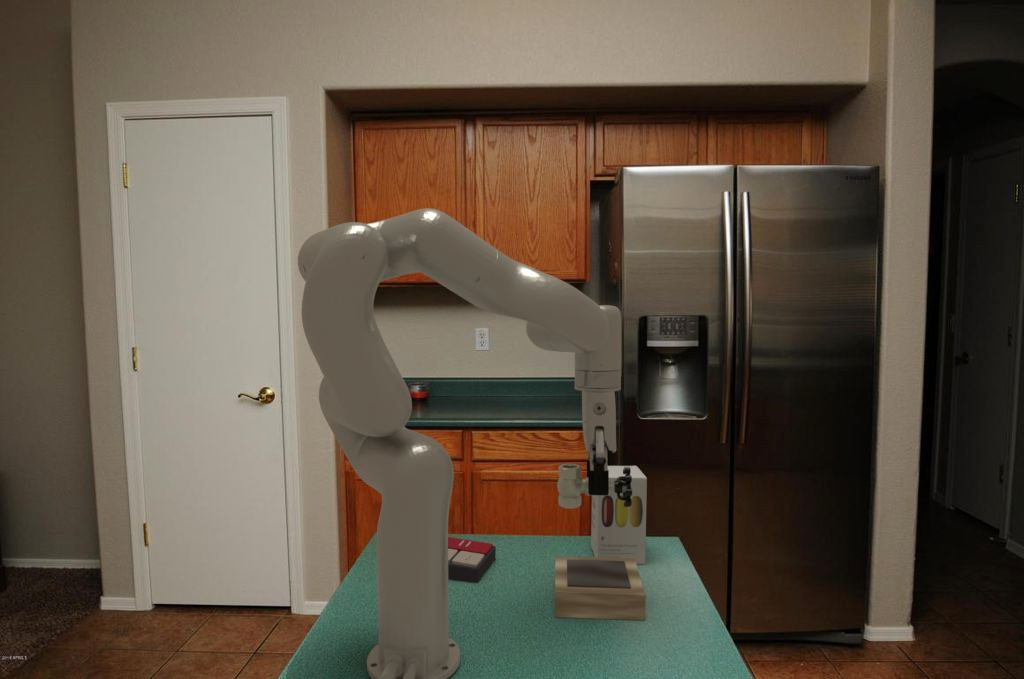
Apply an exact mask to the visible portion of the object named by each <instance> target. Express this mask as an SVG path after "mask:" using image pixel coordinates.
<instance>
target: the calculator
mask: <svg viewBox="0 0 1024 679" xmlns="http://www.w3.org/2000/svg"><path fill="white" fill-rule="evenodd" d="M496 550H497V547H496V546H495V545H494V544H493V543H490V542H483V541H477V540H471V539H464V538H459V537H451V536H448V581H456V582H464V583H471V584H478V583H479V582H480V581H481V579H482V578H483V577H484V575H485V574H486V573H487V572H488V570H489V569H490V567H492V565H493V563H494V562H495V561H496V555H497V554H496Z"/></svg>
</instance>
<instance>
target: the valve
mask: <svg viewBox="0 0 1024 679" xmlns="http://www.w3.org/2000/svg"><path fill="white" fill-rule="evenodd" d="M557 473H558V477H559V478H558V480H557V484H556V488H557V492H558V494H559V495H558V499H557V500H558V501H557V502H558V505H559V506H560V508H564V509H569V510H570V509H572V510H573V509H577V508H579V507H581V506H582V495H581V494H585V496H591V497H592V495H589V493H588V477H587V476H586V477H585V478H581V477H582V466H580V465H579V464H577V463H564V464H563V463H562V464H560V465H558V472H557ZM630 473H631V469H630V467H624V469H623V474H625V476H620V477H618V478H617V480H616V481H614V484H609V490H614V493H617V497H618V498H619V499H620V500H622V501H625V502H624V507H630V506H631V505H632V500H631V496H632V489H631V482H632V476H631V475H630ZM621 480H622V481H621ZM620 493H623V497H622V496H620Z"/></svg>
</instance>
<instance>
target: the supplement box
mask: <svg viewBox="0 0 1024 679" xmlns="http://www.w3.org/2000/svg"><path fill="white" fill-rule="evenodd" d="M624 467H630V469H631V473H630V475H631V476H632V482H631V489H632V496H631V500H632V505H631V506H630V507H624V502H625V501H622V500H620V499H619V498H618V497H617V493H614V490H609V494H608V495H592V496H591V524H590V525H591V526H590V528H591V530H590V534H591V535H590V548H591V550H592V552H593V557H606V558H635V561H636V565H646V547H647V545H646V541H647V540H646V539H647V498H648V497H647V495H648V494H647V492H648V491H647V490H648V489H647V488H648V483H647V482H648V481H647V480H648V477H647V476H646V475H645V474H644V473H643V471H642V470H641V469H640V468H639V467H638V466H637V465H608V470H609V484H614V481H616V480H617V478H618V477H620V476H625V474H623V469H624ZM621 481H622V480H621ZM620 496H622V497H623V493H620Z"/></svg>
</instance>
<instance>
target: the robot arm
mask: <svg viewBox="0 0 1024 679" xmlns="http://www.w3.org/2000/svg"><path fill="white" fill-rule="evenodd" d="M297 266H298V271H299V274H300V276H301V278H302V279H303V281H305V283H304V288H303V293H302V294H303V295H302V301H301V324H302V328H303V332H304V335H305V338H306V341H307V344H308V346H309V348H310V350H311V352H312V355H313V357H314V359H315V361H316V363H317V365H318V367H319V370H320V372H321V374H322V376H323V378H322V379H321V382H320V385H319V390H318V402H319V406H320V410H321V412H322V415H323V417H324V419H325V421H326V422H327V424H328V426H329V428H330V430H331V432H332V434H333V435H334V438H335V439H336V440H337V442H338V444H339V447H340V448H341V450H342V451H343V453H344V456H345V457H346V459H347V460H348V463H350V465H351V467H352V469H353V470H354V471H355V473H356V474H357V476H358V477H359V478H360V479H361V481H363V482H364V484H366V485H368V486H369V487H371V488H372V489H374V490H375V491H377V492H378V493H379V494H380V495H381V506H380V507H381V508H380V513H379V516H378V521H377V527H376V561H377V562H376V563H377V564H376V565H377V566H376V569H377V570H376V572H377V578H376V579H377V628H378V629H377V633H378V634H377V635H378V636H377V638H378V640H377V641H378V644H376V645H375V646H374V647H373V648H372V649H371V650H370V652H369V653H368V655H367V659H366V671H367V674H368V676H369V677H370V678H371V679H449V678H450V677H451V676H452V675H453V674H454V673H455V672H456V671H457V670H458V669H459V666H460V664H461V650H460V647H459V645H458V643H457V642H456V641H455V640H454V639H452V638H451V637H450V621H449V620H450V613H449V610H450V607H449V605H450V604H449V602H450V601H449V598H450V597H449V580H448V537H449V514H450V504H451V497H452V493H453V488H454V481H455V480H454V478H455V477H454V476H455V472H454V465H453V461H452V459H451V457H450V455H449V452H448V451H447V450H446V449H445V447H444V446H443V445H442V444H441V443H439V441H437V440H436V439H434V438H432V437H431V436H428V435H426V434H424V433H420V432H418V431H415V430H412V429H409V428H407V427H406V425H407V423H408V422H409V420H410V417H411V415H412V410H413V401H412V396H411V393H410V390H409V387H408V385H407V384H406V381H405V379H404V378H403V375H402V374H401V372H400V370H399V368H398V366H397V364H396V362H395V360H394V359H393V357H392V354H391V353H390V350H389V348H388V346H387V345H386V343H385V341H384V339H383V336H382V334H381V332H380V329H379V326H378V325H377V321H376V319H375V318H376V317H375V312H374V311H375V310H374V304H375V303H374V302H375V297H376V292H377V289H378V286H379V285H380V283H381V282H383V281H387V280H392V279H394V278H399V277H402V276H405V275H411V274H419V273H421V274H422V275H424V276H426V277H428V278H430V279H431V280H433V281H435V282H436V283H438V284H439V285H441V286H443V287H445V288H446V289H448V290H449V291H450V292H452V293H454V294H456V295H457V296H458V297H461V298H462V299H463V300H465V301H466V302H468V303H469V304H472V305H473V306H475V307H476V308H478V309H481V310H484V311H486V312H490V313H492V314H495V315H499V316H502V317H503V316H505V317H510V318H513V319H518V320H522V321H525V322H526V323H525V324H526V325H525V329H526V330H525V331H526V335H527V337H528V339H529V340H530V342H531V343H532V344H533V345H534V346H535V347H536V348H537V347H538V348H539V349H541V350H543V351H549V352H558V353H574V390H577V391H581V410H582V411H581V413H582V415H581V416H582V417H581V418H582V435H583V442H584V445H585V446H584V448H585V450H586V451H587V459H586V477H588V493H589V495H588V496H590V495H608V494H609V470H608V466H609V465H608V451H609V452H610V451H611V453H612V454H615V453H616V451H617V418H616V417H617V416H616V415H617V414H616V412H617V411H616V407H617V406H616V396H615V392H619V391H621V390H622V387H621V386H622V382H621V381H622V379H621V378H622V370H621V369H622V314H621V310H620V309H619V307H617V306H615V305H609V304H608V305H607V304H606V305H605V304H601V305H599V304H598V303H596V302H595V301H594V300H593V299H592V298H590V297H589V296H588V295H586V294H584V293H583V292H582V291H580V290H579V289H578V288H577V287H574V286H573V285H571V284H570V283H568V282H566V281H564V280H561V279H560V278H557V277H556V276H553V275H551V274H549V273H545V272H543V271H541V270H539V269H536V268H534V267H532V266H530V265H527V264H524V263H523V262H519V261H517V260H515V259H513V258H510V257H509V256H507V254H505V253H503V252H501V250H499V249H497V248H496V247H494V246H493V245H491V244H490V243H489V242H487V241H486V240H484V239H483V238H482V237H480V236H479V235H478V234H476V233H474V232H473V231H471V230H470V229H469V228H467V227H466V226H465V225H463V224H462V223H460V222H459V221H458V220H456V219H455V218H453V217H452V216H450V215H449V214H447V213H446V212H444V211H442V210H439V209H436V208H431V207H430V208H428V207H427V208H426V207H424V208H419V209H416V210H413V211H412V210H411V211H408V212H406V213H403V214H400V215H396V216H392V217H389V218H386V219H382V220H379V221H374V222H369V223H365V222H359V221H358V222H357V221H350V222H344V223H343V222H342V223H340V224H337V225H332V226H331V227H329V228H326V229H323V230H321V231H320V230H319V231H318V232H316V233H313V234H312V235H311V236H309V237H308V238H307V239H306V240H305V241H304V243H303V244H302V245H301V247H300V249H299V251H298V255H297Z"/></svg>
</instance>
